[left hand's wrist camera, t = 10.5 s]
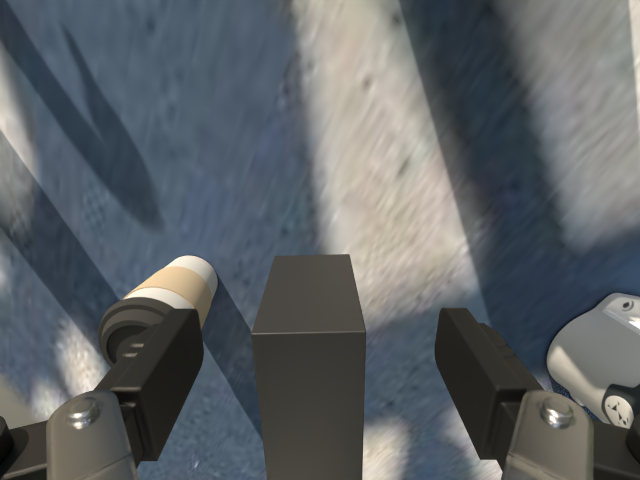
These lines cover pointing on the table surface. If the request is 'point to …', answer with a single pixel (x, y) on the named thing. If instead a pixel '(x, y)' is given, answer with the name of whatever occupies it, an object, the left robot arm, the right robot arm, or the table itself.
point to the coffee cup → (157, 303)
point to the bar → (311, 369)
